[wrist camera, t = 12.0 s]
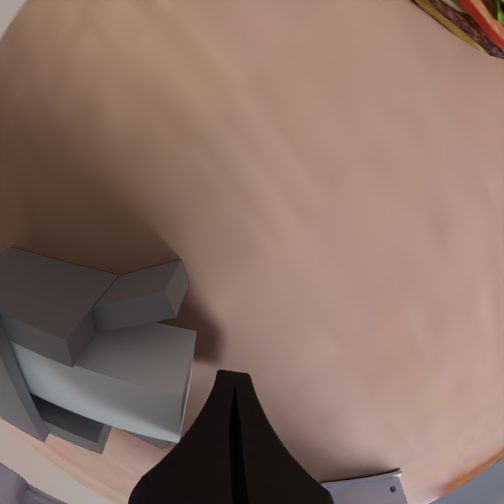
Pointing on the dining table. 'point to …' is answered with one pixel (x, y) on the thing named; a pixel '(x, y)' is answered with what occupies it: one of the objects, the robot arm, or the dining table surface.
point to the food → (472, 21)
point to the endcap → (71, 330)
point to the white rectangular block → (121, 378)
